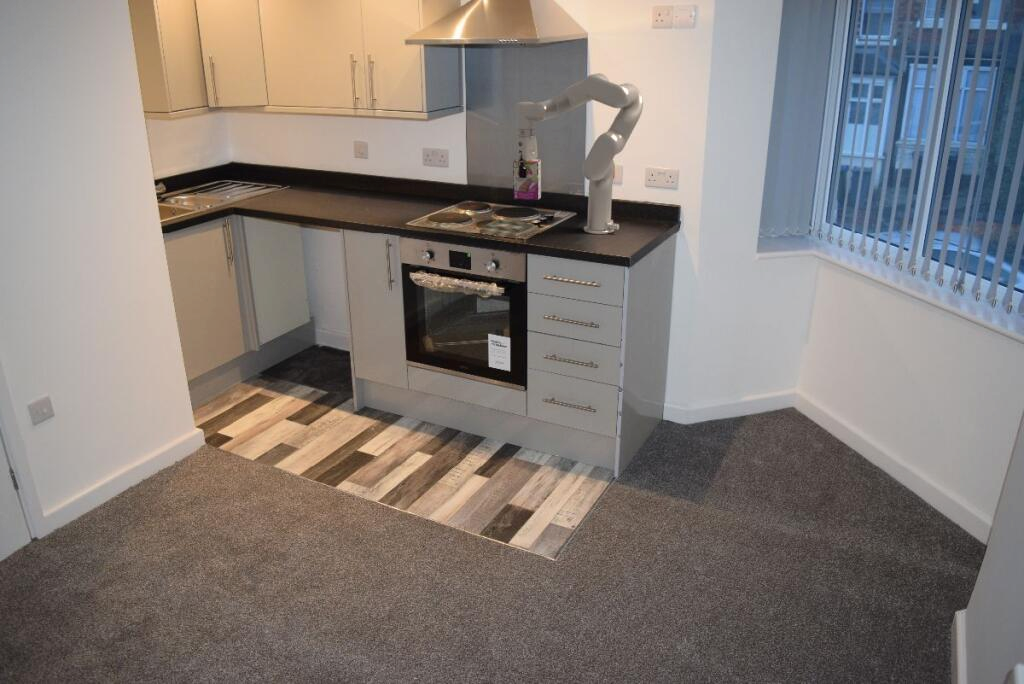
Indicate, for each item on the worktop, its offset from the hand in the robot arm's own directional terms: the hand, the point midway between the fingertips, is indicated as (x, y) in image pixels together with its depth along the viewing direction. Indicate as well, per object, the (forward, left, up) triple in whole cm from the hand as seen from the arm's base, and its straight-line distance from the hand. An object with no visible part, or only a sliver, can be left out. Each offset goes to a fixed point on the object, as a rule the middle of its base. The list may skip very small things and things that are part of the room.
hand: (526, 176), depth 345 cm
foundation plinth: (-1, +17, -20) cm, 26 cm away
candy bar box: (0, 0, -10) cm, 10 cm away
